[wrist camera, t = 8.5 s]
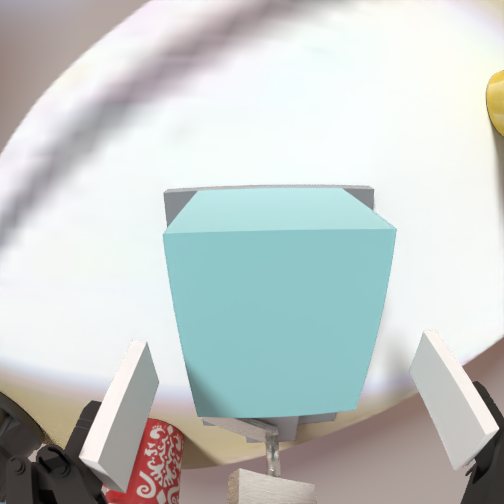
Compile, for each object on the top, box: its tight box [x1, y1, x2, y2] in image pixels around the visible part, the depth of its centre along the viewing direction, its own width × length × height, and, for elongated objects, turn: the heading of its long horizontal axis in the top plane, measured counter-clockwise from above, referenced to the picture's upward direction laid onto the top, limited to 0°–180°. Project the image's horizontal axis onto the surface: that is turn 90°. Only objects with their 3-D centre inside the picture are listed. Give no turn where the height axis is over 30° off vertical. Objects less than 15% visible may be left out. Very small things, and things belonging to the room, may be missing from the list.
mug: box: [102, 418, 184, 504], centre depth 27 cm, size 13×9×14 cm
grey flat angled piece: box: [201, 417, 317, 504], centre depth 21 cm, size 2×11×10 cm, turn 56°
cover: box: [163, 188, 397, 418], centre depth 20 cm, size 10×17×9 cm, turn 1°
